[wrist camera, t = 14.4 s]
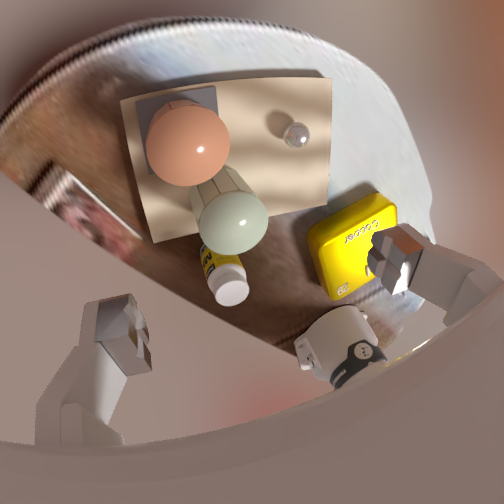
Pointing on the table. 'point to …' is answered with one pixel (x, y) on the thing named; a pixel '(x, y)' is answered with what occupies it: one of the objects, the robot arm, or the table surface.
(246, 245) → the sage cup
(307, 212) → the table surface
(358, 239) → the element tile
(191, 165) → the terracotta cup
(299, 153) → the birch board
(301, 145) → the steel marble
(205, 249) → the supplement bottle
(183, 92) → the charcoal mat
